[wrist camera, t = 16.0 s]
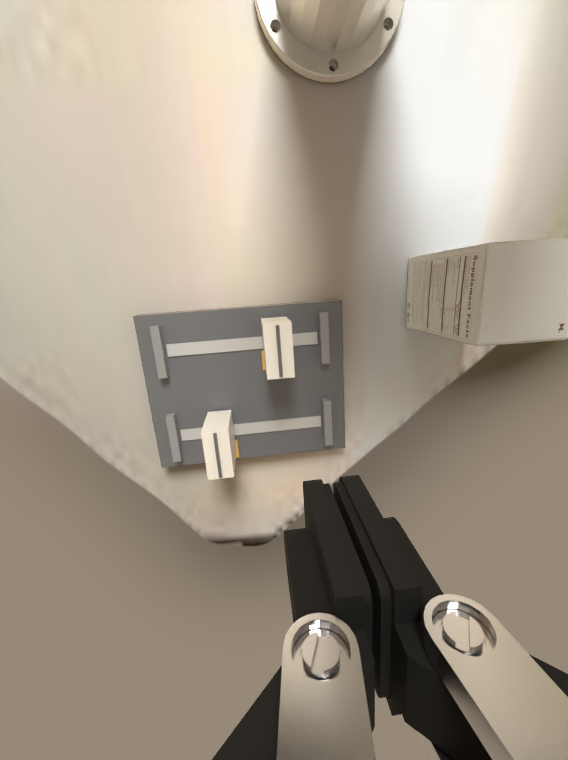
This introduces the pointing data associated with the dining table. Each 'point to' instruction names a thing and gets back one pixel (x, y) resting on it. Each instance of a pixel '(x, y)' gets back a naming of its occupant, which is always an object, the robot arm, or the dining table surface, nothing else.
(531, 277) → the supplement box
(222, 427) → the block
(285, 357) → the block
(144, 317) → the console
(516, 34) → the dining table surface
